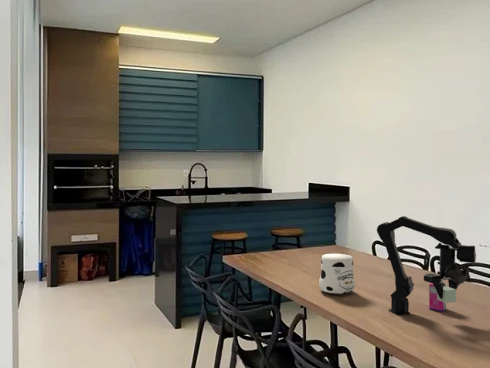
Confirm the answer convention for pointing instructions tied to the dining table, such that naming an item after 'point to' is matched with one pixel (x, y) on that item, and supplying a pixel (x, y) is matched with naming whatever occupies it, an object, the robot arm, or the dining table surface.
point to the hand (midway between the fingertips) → (446, 298)
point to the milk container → (337, 274)
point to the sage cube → (448, 295)
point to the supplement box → (435, 300)
